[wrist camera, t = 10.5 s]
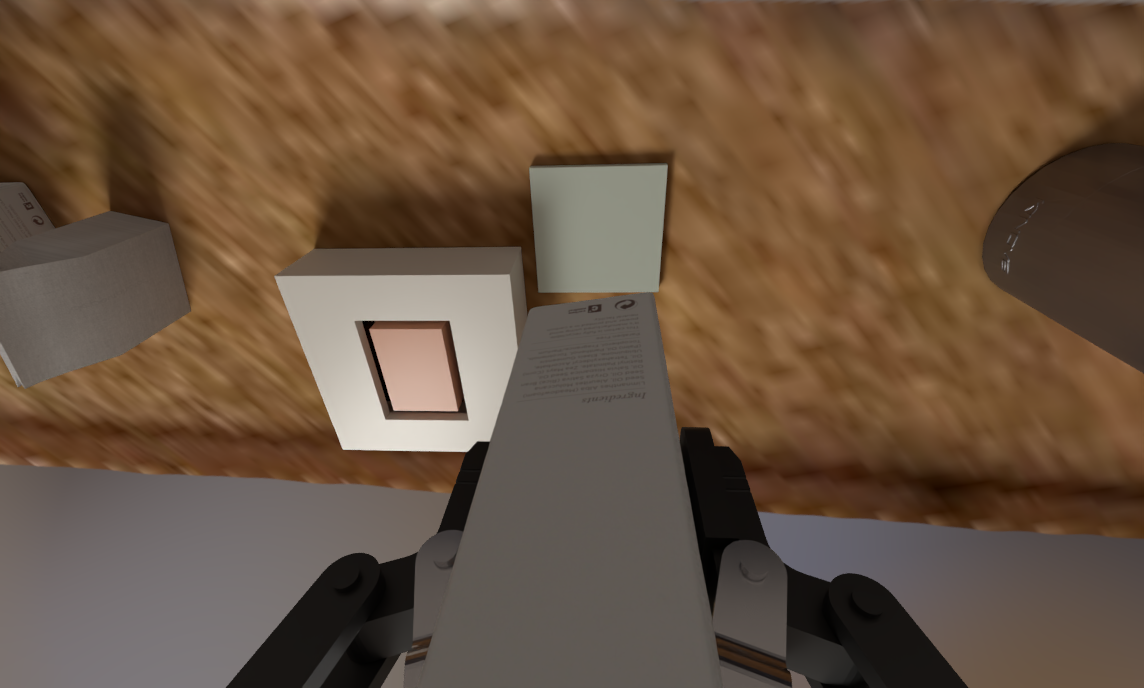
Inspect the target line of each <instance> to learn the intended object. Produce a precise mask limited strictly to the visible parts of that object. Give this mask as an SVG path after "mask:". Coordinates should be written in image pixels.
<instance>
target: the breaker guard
mask: <svg viewBox="0 0 1144 688" xmlns="http://www.w3.org/2000/svg"><path fill="white" fill-rule="evenodd" d="M274 277H275V279H276V282H277V285H278V287H279V290H280V292H281V295H282V297H283V300H284V302H285V305H286V307H287V310H288V312H289V315H290V317H291V320H292V322H293V325H294V327H295V330H296V332H297V335H298V337H299V340H300V343H301V345H302V348H303V350H304V353H305V355H306V358H307V360H308V363H309V365H310V368H311V370H312V373H313V375H314V378H315V380H316V383H317V385H318V388H319V390H320V393H321V395H322V398H323V401H324V403H325V406H326V408H327V411H328V413H329V416H330V418H331V421H332V423H333V426H334V428H335V431H336V433H337V436H338V438H339V441H340V443H341V446H342V448H343V450H394V451H452V452H468V451H469V450H470V449H471V448H472V446H473V445H474V444H475V443H476V442H477V441H490V439H491V436H492V433H493V429H494V426H495V423H496V420H497V416H498V413H499V410H500V407H501V404H502V401H503V397H504V393H505V390H506V387H507V384H508V380H509V377H510V374H511V371H512V367H513V364H514V360H515V357H516V353H517V350H518V347H519V344H520V340H521V336H522V333H523V330H524V327H525V323H526V320H527V317H528V316H527V305H526V295H525V284H524V273H523V262H522V251H521V247H456V248H357V249H313V250H312V251H310V252H309V253H307V254H306V255H304V256H303V257H302V258H300V259H299V260H297V261H296V262H294V263H293V264H291V265H290V266H288V267H287V268H285V269H284V270H282V271H281V272H280V273H278V274H277V275H275V276H274ZM362 321H450V325H451V331H452V336H453V341H454V346H455V351H456V357H457V362H458V367H459V372H460V377H461V382H462V388H463V393H464V398H465V402H462V403H461V405H460V408H459V410H458V411H394V410H393V407H392V403H391V401H386V398H385V395H384V392H383V389H382V385H381V382H380V379H379V376H378V372H377V369H376V366H375V362H374V359H373V356H372V353H371V349H370V346H369V343H368V340H367V336H366V333H365V330H364V327H363V323H362Z"/></svg>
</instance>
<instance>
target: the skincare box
mask: <svg viewBox="0 0 1144 688" xmlns="http://www.w3.org/2000/svg"><path fill="white" fill-rule="evenodd" d="M417 688H723V682H722V676H721V669H720V663H719V657H718V651H717V645H716V639H715V632H714V626H713V620H712V615H711V610H710V605H709V600H708V594H707V589H706V584H705V579H704V574H703V569H702V564H701V559H700V553H699V548H698V542H697V537H696V531H695V525H694V520H693V514H692V508H691V502H690V497H689V491H688V486H687V481H686V476H685V469H684V463H683V458H682V452H681V447H680V441H679V436H678V430H677V425H676V419H675V413H674V408H673V402H672V396H671V390H670V385H669V379H668V373H667V366H666V360H665V355H664V350H663V344H662V338H661V332H660V326H659V321H658V316H657V310H656V304H655V298H654V295H653V293H650V292H646V293H639V294H631V295H623V296H616V297H609V298H602V299H594V300H586V301H580V302H572V303H564V304H556V305H547V306H540V307H534V308H532V309H530V311H529V313H528V317H527V320H526V323H525V327H524V330H523V333H522V336H521V340H520V344H519V347H518V350H517V353H516V357H515V360H514V364H513V367H512V371H511V374H510V377H509V380H508V384H507V387H506V390H505V393H504V397H503V401H502V404H501V407H500V410H499V413H498V416H497V420H496V423H495V427H494V430H493V433H492V436H491V440H490V444H489V447H488V451H487V454H486V457H485V460H484V464H483V468H482V471H481V474H480V478H479V481H478V484H477V487H476V491H475V494H474V497H473V501H472V504H471V508H470V511H469V514H468V518H467V521H466V525H465V528H464V532H463V535H462V538H461V542H460V545H459V548H458V551H457V554H456V558H455V562H454V565H453V568H452V572H451V575H450V578H449V582H448V585H447V588H446V591H445V595H444V598H443V601H442V605H441V608H440V612H439V615H438V619H437V622H436V625H435V629H434V632H433V636H432V639H431V642H430V646H429V649H428V652H427V656H426V659H425V662H424V665H423V669H422V672H421V675H420V678H419V682H418V685H417Z"/></svg>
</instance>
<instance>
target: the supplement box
mask: <svg viewBox="0 0 1144 688" xmlns="http://www.w3.org/2000/svg"><path fill="white" fill-rule="evenodd" d="M53 229H55V227H54V226H53V224H52V223H51V221H50V220H49V218H48V217H47V215H46V214H45V212H44V211H43V209H42V208H41V206H40V205H39V203H38V202H37V200H36V198H35V197H34V196H33V194H32V193H31V191H30V190H29V188H28V187H27V186H26V185H25V184H24V183H23V182H12V183H0V253H1V252H2V251H4V250H5V249H6V248H7V247H9V246H10V245H11V244H12V243H14V242H15V241H18V240H21V239H25V238H28V237H31V236H34V235H37V234H40V233H43V232H46V231H49V230H53Z"/></svg>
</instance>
